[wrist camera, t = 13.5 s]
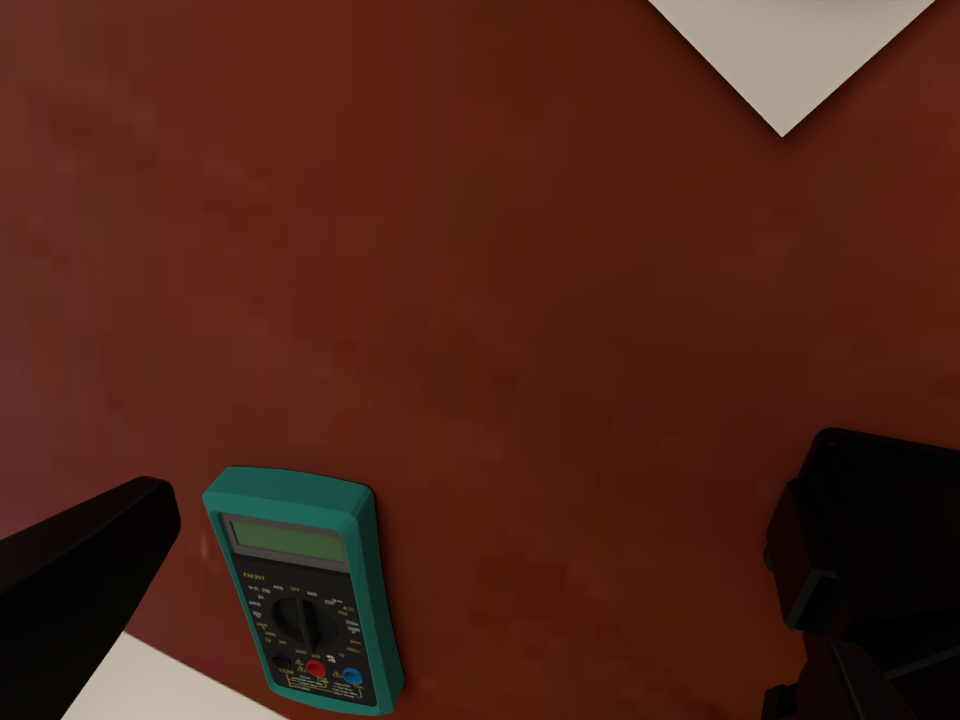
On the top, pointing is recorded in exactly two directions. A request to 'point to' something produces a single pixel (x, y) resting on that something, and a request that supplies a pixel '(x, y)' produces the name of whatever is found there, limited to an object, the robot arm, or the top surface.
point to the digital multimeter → (310, 585)
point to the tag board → (788, 45)
